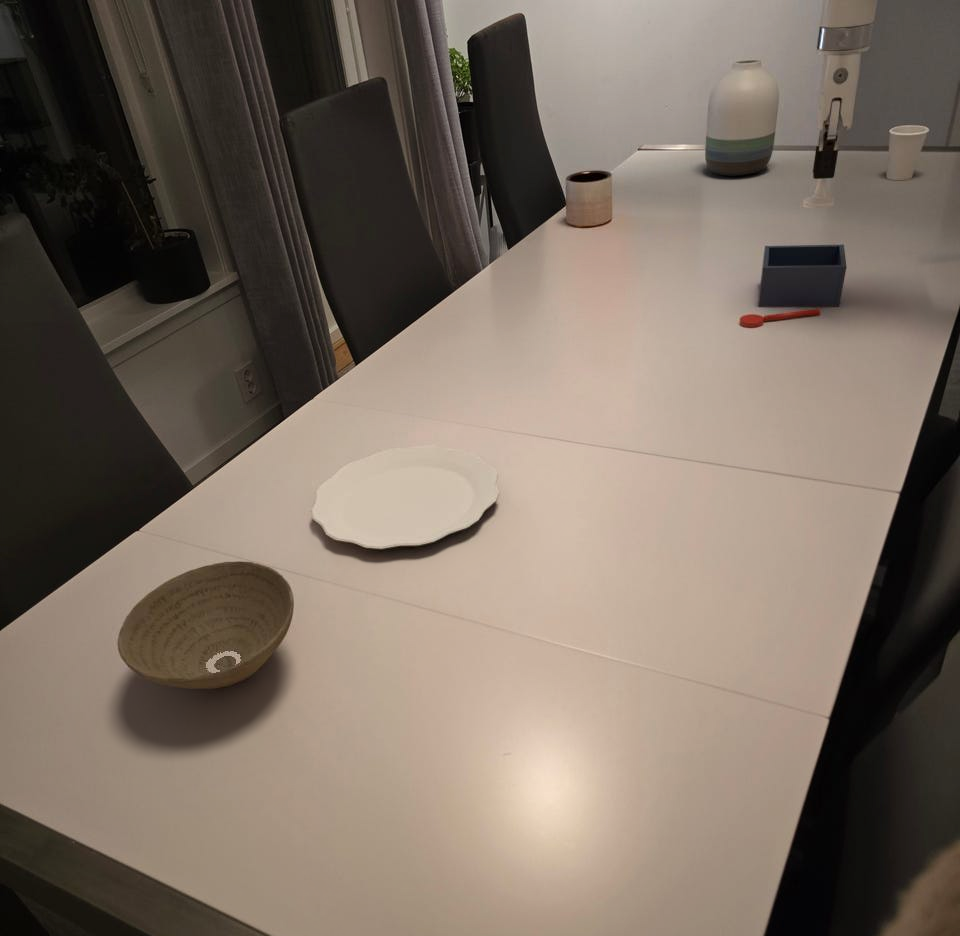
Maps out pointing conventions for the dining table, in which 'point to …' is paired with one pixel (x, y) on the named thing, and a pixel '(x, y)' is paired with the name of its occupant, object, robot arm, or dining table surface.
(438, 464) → the plate
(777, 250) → the bin
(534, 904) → the dining table surface
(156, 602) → the bowl
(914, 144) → the dixie cup
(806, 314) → the red spoon
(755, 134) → the vase
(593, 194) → the planter
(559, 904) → the dining table surface
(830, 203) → the chess piece
